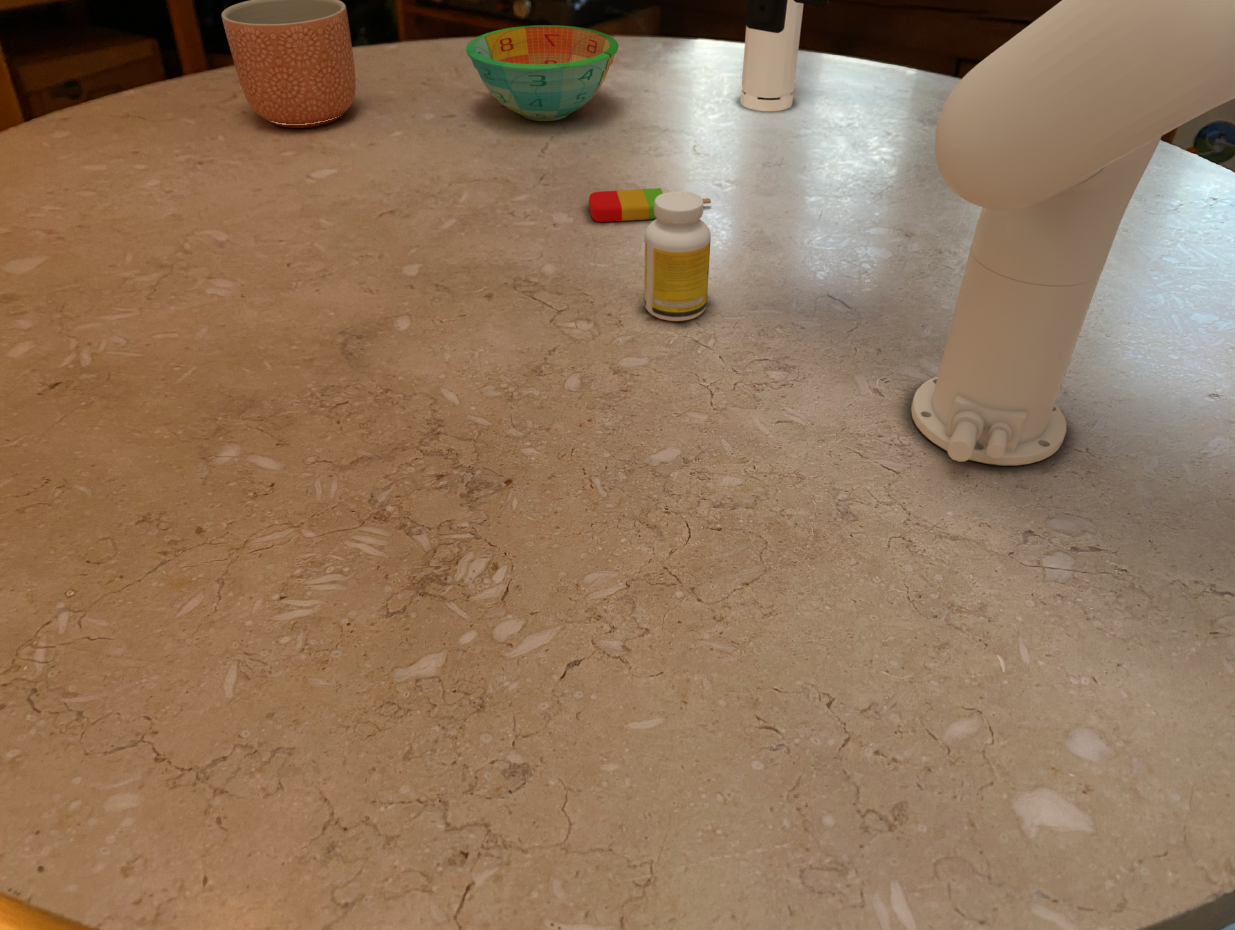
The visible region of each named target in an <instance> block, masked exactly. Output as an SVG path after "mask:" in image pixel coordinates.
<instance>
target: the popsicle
mask: <svg viewBox="0 0 1235 930" xmlns="http://www.w3.org/2000/svg"><path fill="white" fill-rule="evenodd" d="M663 193H664V192H663V190H662V188H661V187H657V188H638V189H621V190H603V191H602V190H601V191H600V190H599V191H593V192H591V193H590V194H589V196H588V208H589V212H590V216H591V217H592V220H594V221H595V222H597V223H609V222H610V223H611V222H626V221H627V222H628V221H645V220H655V219H657V218H656V216H655V214H654V204H655V199H656V197H657V196H659V195H660V194H663ZM702 200H703V205H706V204H707V205H708V204H711V203H712V199H711V198H707V197H706V198H702Z"/></svg>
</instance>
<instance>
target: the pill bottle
mask: <svg viewBox="0 0 1235 930" xmlns="http://www.w3.org/2000/svg"><path fill="white" fill-rule="evenodd" d="M662 193H663V194H660V195H659V196H657V197H656V199H655V204H654V214H655V216H656V218H657V219H653V220H652V221H651V222H650V223H649V224H648V226H647V228H646V229H645V233H644V279H643V280H644V284H643V285H644V287H643V289H644V291H643V303H644V308H645V309H646V311H647V312H648V313H649V314H650V315H652V316H653V317H655V318H657V319H660V320H664V321H669V322H684V321H689V320H692V319H695V318H697V317H699V316H700V315H702V313H704V311H705V310H706V309H707V308H706V307H707V303H708V290H709V289H708V288H709V275H710V260H711V259H710V255H711V242H712V238H711V237H712V235H711V230H710V228H709V227H708V225H707V224H706V223H705V222H704V221H703V220H701V218H702V217H703V213H704V204H703V200H702V199H703V198H702V197H701V196H699V195H698V194H695V193H693V192H689V191H681V190H677V191H676V190H673V191H667V192H662Z"/></svg>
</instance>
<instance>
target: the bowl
mask: <svg viewBox="0 0 1235 930" xmlns="http://www.w3.org/2000/svg"><path fill="white" fill-rule="evenodd" d="M618 50H619V43H618V41H617V40H616V39H615V38H614V37H612V36H611V35H609V34H607V33H604V32H601V31H598V30H594V29H590V28H586V27H579V26H569V25H557V24H554V25H553V24H551V25H550V24H549V25H548V24H547V25H545V24H544V25H543V24H542V25H541V24H540V25H539V24H538V25H523V26H514V27H508V28H507V27H506V28H503V29H497V30H493V31H490V32H486V33H484V34H481V35H479V36H477V37H475V38H473V39H472V40H470V41H469V42H468V43H467V44H466V46H465V52H466V54H467V56H468V57H469V58H470V60H471V62H472V66H473V68H474V69H476V71H477V73H478V74H479V77H480V79H481V81H482V84H483V85H484V86H485V88H486V89H487V90H488V92H489V93H490V94H491V95H492V96H493V97H494V99H496V101H498V102H499V103H500V104H501V105H502V106H504V107H505V108H507V109H508V110H510V111H512V112H514V113H517V114H518V115H521V116H522V117H523V118H525V119H527V120H531V121H536V122H554V121H558V120H563V119H565V118H567V117H568V116H569V115H570V114H572V113H574V112H576V111H577V110H579V109H581V108H582V107H584V106H585V105H586V104H587V103H589V101H591V100H592V99H593V97H594V96H595V95H596V94H597V93H598V91H599V90H600V89H601V87H602V85H603V83H604V82H605V80H606V77H607V75H608V72H609V70H610V67H611V66H612V65H613V62H614V59H615V55H616V53H617V52H618Z"/></svg>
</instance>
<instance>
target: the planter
mask: <svg viewBox="0 0 1235 930" xmlns="http://www.w3.org/2000/svg"><path fill="white" fill-rule="evenodd" d="M347 10H348V9H347V5H346V4H345V3H344V2H343V1H342V0H246V1H243V2H238V3H236V4H232V5H230V6H228V7H226V8H225V9H224V10H223V11H222V12H221V19H222V23H223V28H224V30H225V31H224V32H225V34H226V35H225V36H226V39H227V42H228V46H229V49H230V50H229V51H230V53H231V57H232V61H233V65H234V68H235V72H236V74H237V78H238V81H239V83H240V87H241V90H242V92H243V94H244V98H245V100H246V102H247V103H248V104H249V106H250V108H251V109H252V110H253V111H254V112H255V113H256V114H257V115H258V116H259V117H261V118H262V119H264V120H266V119H267V120H270V121H274V122H278V123H286V124H305V123H314V122H318V121H325V120H328V119H332V118H334V119H332V120H328V121H325V122H320V123H315V124H307V125H282V124H276V123H272V122H270V123H271V124H273V125H276V126H279V127H283V128H290V129H303V128H304V129H305V128H312V127H319V126H324V125H327V124H330V123H332V122H335V121H337V120H338V119H339V118H341V117H342V116H343V115H345V113H346V112H347V111H348V110H349V108H350V107H351V105H352V104H353V102H354V99H355V96H356V91H357V90H356V88H357V84H356V83H357V82H356V81H357V80H356V68H355V58H354V51H353V45H352V38H351V30H350V24H349V23H350V22H349V17H348V11H347ZM340 115H341V116H340ZM338 116H339V117H338ZM335 117H337V118H335ZM267 120H266V121H267Z"/></svg>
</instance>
